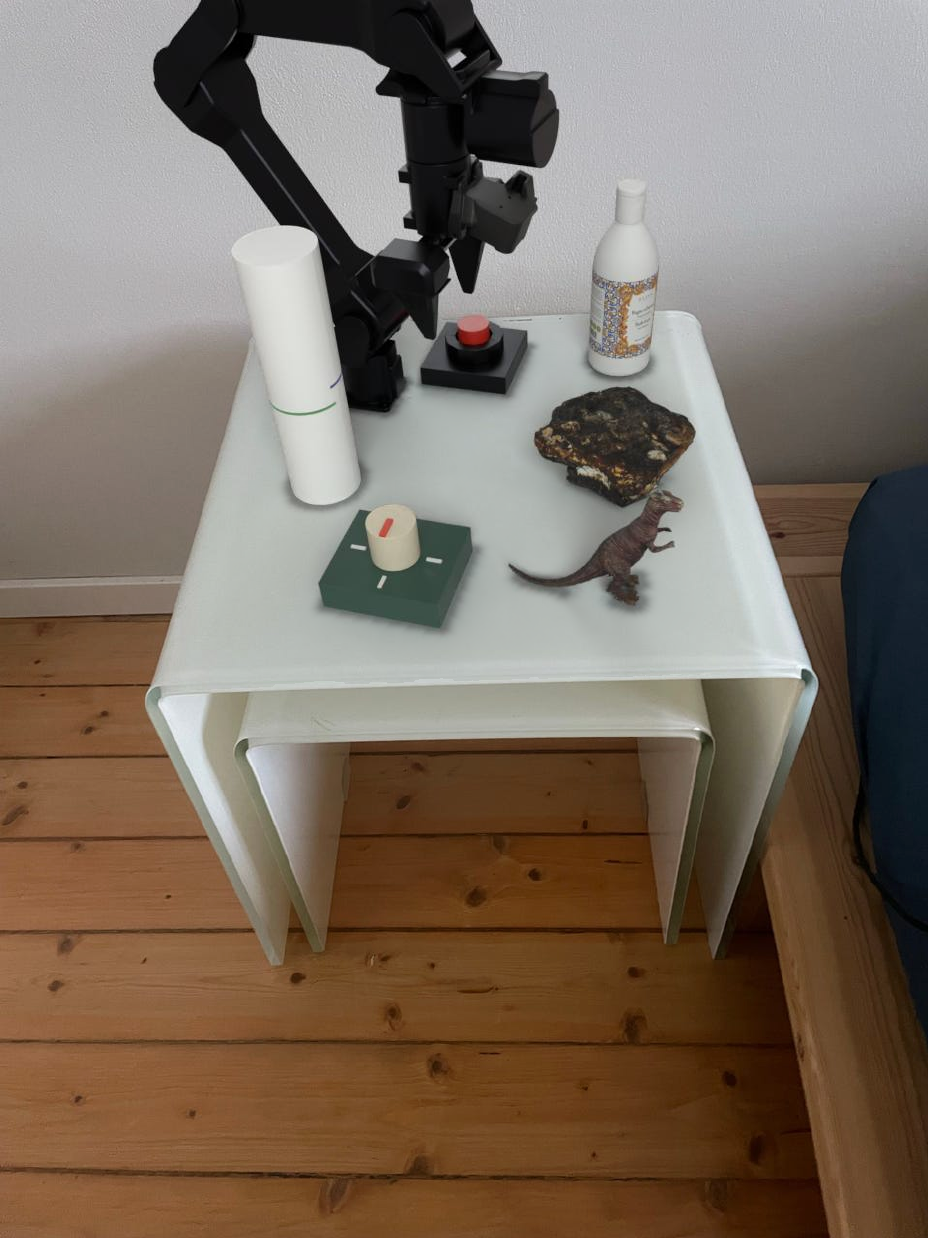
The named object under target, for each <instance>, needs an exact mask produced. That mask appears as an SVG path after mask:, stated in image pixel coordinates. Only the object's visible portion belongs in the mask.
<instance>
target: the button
mask: <svg viewBox="0 0 928 1238" xmlns="http://www.w3.org/2000/svg"><path fill="white" fill-rule="evenodd" d="M489 321H490V320H489V318H487V317H486V316H483V315H479V314H471V315H466V316H464V317H461V318H460V319H459V320H458V321H457V322H456V323H457V328H458V339H459V341H460V342H461V343H463V344H469V345H476V344H482V343H484V342H486V341H488V340H489V338H490V329H489Z"/></svg>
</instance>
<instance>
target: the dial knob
mask: <svg viewBox="0 0 928 1238" xmlns="http://www.w3.org/2000/svg"><path fill="white" fill-rule="evenodd" d="M371 511H372V512H371V513H370V514H369V515H368V516H367V518H366V522H365V525H366V531H367V536H368V542H369V547H370V552H371V558H372V561H373V563H374V564H375V565H376V566H377V567H379V568H381V569H383V570H386V571H400V570H404V569H407V568H409V567H411V566H412V565H414V564H415V563H416V562H417V560H418V559H419V557H420V544H419V536H418V529H417V521H416V519H417V515H416V514H415V512H414V511H413V510H412V509H411V508H410V507H408V506H406V505H403V504H399V503H389V504H385V505H381V506H378V507H376V508H374V509H373V510H371Z"/></svg>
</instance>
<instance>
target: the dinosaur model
mask: <svg viewBox="0 0 928 1238" xmlns="http://www.w3.org/2000/svg"><path fill="white" fill-rule="evenodd" d="M684 506H685V502H684V501H683V500H682V498H681V497H680V498H679V497H677V496H675V495H673V493H672V492H671V491H669V490H666V489H659V490H655V491H653V492H651V493H650V495H649V496H648V497H647V500H646V503H645V504H644V507H643V509H642V512H641V514H640V515H639V516H637V517H636V518H635V519H633V520H632V521H630V522H629V524H628V525H625V526H623V527H622V528H619V529H618V530H615V531H614V532H613V533H611V534H609V535H608V536H607V537H606V538H604V540H602V542H601V543H600V544H599V545H598V547H597V549H595V552H594V553H593V554H591V557H590V558H589V559H588V560H587V561H586V562H585V564H583V565H582V566H581V567H580V568H578V569H577V570H576V571H574V572H573V573H570V574H569V575H566V576H562V577H559V578H558V577H557V578H540V577H536V576H532V575H530V574H528V573H526V572H524V571H523V570H521V569H519V568H517V567H515V565H513V564H511V562H509V563H508V564H507V566H508V568H509V569H511V571H512V572H513V573H515V575H517V576H518V577H520V578H522V579H523V580H524V581H526V582H527V583H529V584H533V585H536V586H540V587H542V586H543V587H547V588H563V587H572V586H576V585H580V584H583V583H584V584H585V583H586V582H590V581H592V580H595V579H597V578H602V577H605V576H606V577H607V578H609V577H613V578H612V579H611V581H610V583H609V584H608V585H607V586H606V588H605V593H609V594H611V595H612V596H613V597H614V598H615V599H616V600H618V601H620V602H622V603H623V604H624V605H630V606H636V605H638V604H637V603H638V601H640V599H641V596H639V595H637V594H638V593H639V591H638V590H636V589H635V588H637V585H640V581H639V580H638V579H639V578H640V577H639V575H637V574H631V569H632V568H633V567H634V566H635V565H636V564H637V563H638V562H639V561H641V559H642V558H643V557H644V555H645V553H646V552H647V550H649V552H651V553H652V554H657V553H660V552H663V551H665V550H667V549H673V548H676V545H675V541H674V540H669V541H668V542H667V543H665V544H664V545H659V546H657V545H655V541H656V539H657V537H658V534H659V533H662V532H666V533H672V529H671V528H670V527H666V526H663V527H659V525H660V524H661V518H663V515H665V514H666V513H667V512H669V513H680V512H681V511H682V509H683V508H684ZM623 586H624V587H626V588H628V589H625V588H624V589H623V588H621V587H623Z"/></svg>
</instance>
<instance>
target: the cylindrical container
mask: <svg viewBox="0 0 928 1238" xmlns="http://www.w3.org/2000/svg"><path fill="white" fill-rule="evenodd" d="M230 253H231V256H232V260H233V264H234V268H235V272H236V276H237V280H238V284H239V289H240V291H241V296H242V299H243V303H244V307H245V312H246V315H247V320H248V323H249V327H250V330H251V335H252V339H253V342H254V347H255V350H256V354H257V358H258V363H259V366H260V369H261V373H262V377H263V382H264V386H265V390H266V393H267V397H268V402H269V405H270V409H271V413H272V416H273V420H274V424H275V428H276V432H277V437H278V440H279V444H280V448H281V452H282V456H283V459H284V463H285V468H286V471H287V475H288V479H289V483H290V486H291V487H290V488H291V490H292V493H293V495H294V496H295V497H296V499H298V500H299V501H301V502H303V503H306V504H308V505H309V504H310V505H313V506H326V505H327V506H328V505H332V504H333V505H334V504H336V503H339V502H342V501H344V500H346V499H348V498H350V497H351V496H352V495H353V494H354V493H356V491H358V488H359V487H360V484H361V482H362V476H361V469H360V464H359V458H358V454H357V453H358V452H357V447H356V442H355V436H354V432H353V426H352V420H351V415H350V408H349V407H348V403H347V398H346V392H345V387H344V381H343V376H342V371H341V365H340V359H339V354H338V348H337V343H336V337H335V331H334V327H335V325H334V323H333V320H332V315H331V309H330V304H329V298H328V293H327V287H326V282H325V276H324V271H323V265H322V260H321V254H320V249H319V243H318V239H317V236H316V235H315V234H314V233H313V232H312V231H310V230H308V229H305V228H302V227H298V226H280V225H274V226H269V227H264V228H260V229H256V230H254V231H251V232H248V233H247V234H245V235H242V236H241V237H240V238H239V239H237V240H236V241H235V242H234V244H233V245H232V246H231V252H230Z"/></svg>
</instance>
